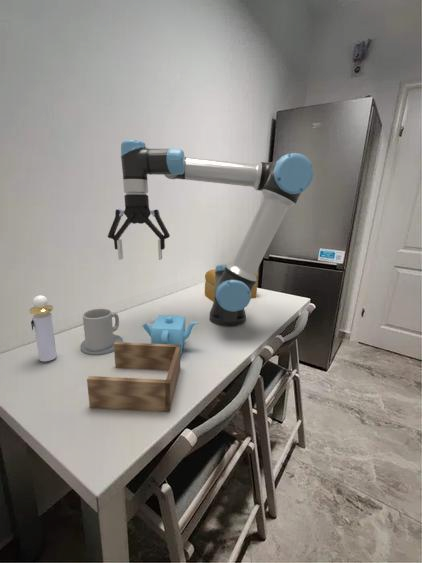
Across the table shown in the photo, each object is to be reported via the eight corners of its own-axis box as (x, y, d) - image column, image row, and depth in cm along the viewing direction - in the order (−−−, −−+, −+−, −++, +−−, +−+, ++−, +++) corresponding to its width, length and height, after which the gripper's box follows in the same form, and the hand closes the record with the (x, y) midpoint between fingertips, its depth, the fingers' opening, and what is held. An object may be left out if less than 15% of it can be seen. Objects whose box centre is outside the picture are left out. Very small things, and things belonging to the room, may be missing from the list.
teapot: (149, 337, 98) (148, 307, 95) (200, 339, 98) (201, 309, 95) (136, 361, 83) (134, 327, 80) (196, 364, 82) (197, 329, 79)
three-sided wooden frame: (180, 368, 80) (180, 344, 78) (169, 411, 63) (169, 383, 61) (116, 365, 80) (115, 341, 78) (89, 407, 64) (86, 379, 62)
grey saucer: (128, 336, 98) (128, 334, 97) (114, 356, 85) (114, 353, 85) (91, 335, 98) (91, 333, 98) (72, 354, 85) (72, 351, 85)
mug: (96, 354, 84) (93, 320, 81) (79, 346, 89) (76, 314, 86) (127, 339, 94) (126, 309, 91) (111, 332, 98) (108, 303, 96)
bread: (214, 303, 134) (215, 273, 130) (204, 295, 145) (204, 267, 141) (256, 298, 144) (259, 270, 140) (244, 291, 155) (246, 264, 151)
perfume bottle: (61, 353, 86) (54, 291, 80) (56, 363, 80) (47, 298, 75) (41, 355, 84) (31, 292, 79) (33, 365, 79) (23, 299, 74)
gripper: (176, 194, 93) (178, 256, 99) (102, 194, 93) (108, 256, 99) (173, 193, 86) (175, 261, 91) (92, 193, 86) (100, 261, 91)
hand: (140, 259), depth 95 cm, fingers open, 13 cm apart
